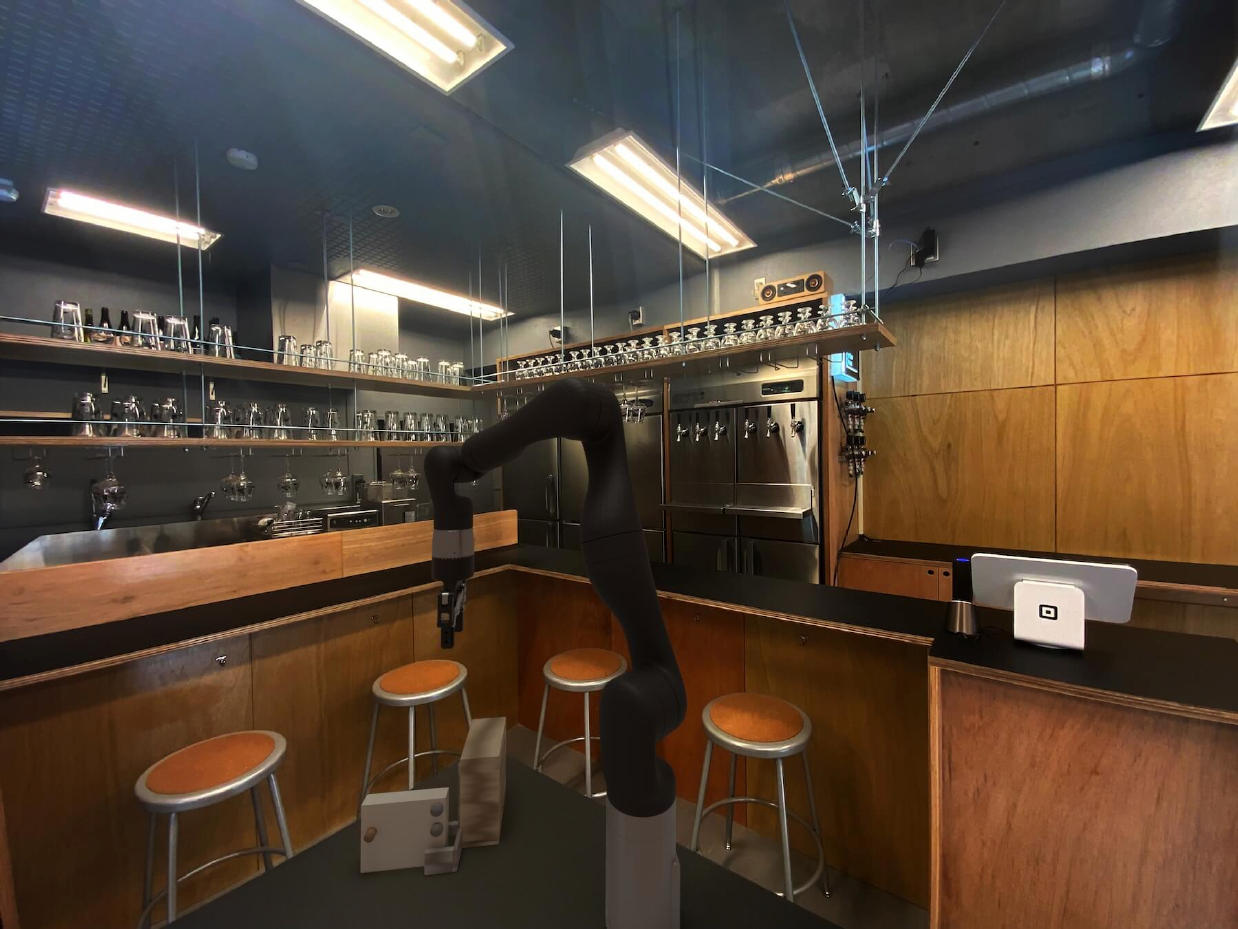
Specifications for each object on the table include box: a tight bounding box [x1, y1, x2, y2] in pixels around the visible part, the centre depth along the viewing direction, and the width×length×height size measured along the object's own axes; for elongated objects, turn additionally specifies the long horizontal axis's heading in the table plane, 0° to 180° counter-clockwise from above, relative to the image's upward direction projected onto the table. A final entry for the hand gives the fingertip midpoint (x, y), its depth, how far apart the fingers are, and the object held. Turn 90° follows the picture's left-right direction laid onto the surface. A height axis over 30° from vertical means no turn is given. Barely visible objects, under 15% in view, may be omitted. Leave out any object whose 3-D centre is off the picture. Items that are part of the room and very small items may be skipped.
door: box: [360, 787, 450, 874], centre depth 71 cm, size 12×4×10 cm, turn 98°
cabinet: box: [423, 716, 507, 876], centre depth 78 cm, size 10×16×14 cm, turn 8°
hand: (452, 639), depth 88 cm, fingers open, 8 cm apart
